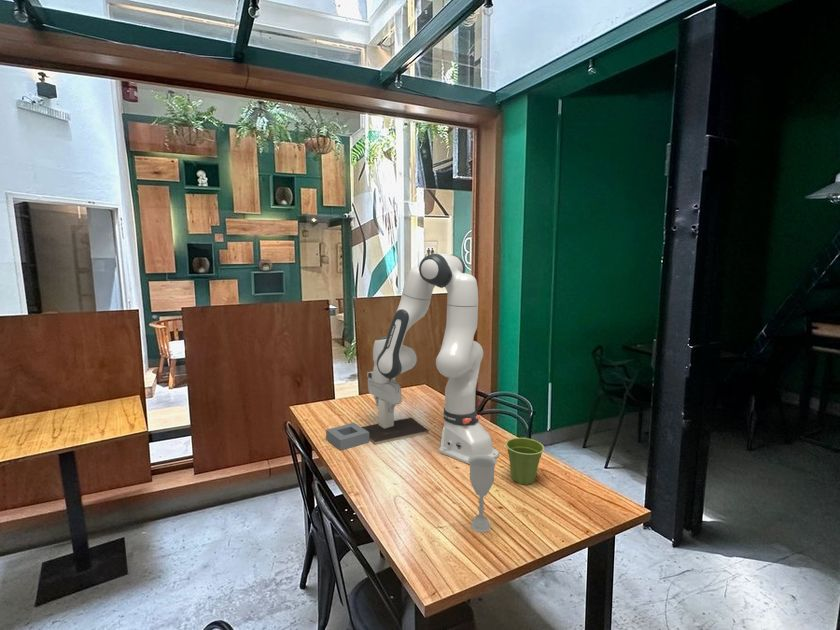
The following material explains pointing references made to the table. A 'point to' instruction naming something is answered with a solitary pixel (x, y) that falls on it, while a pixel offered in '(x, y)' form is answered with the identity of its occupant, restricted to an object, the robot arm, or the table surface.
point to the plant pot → (524, 459)
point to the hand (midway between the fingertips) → (384, 409)
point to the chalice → (481, 486)
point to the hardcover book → (395, 431)
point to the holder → (347, 436)
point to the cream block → (384, 414)
